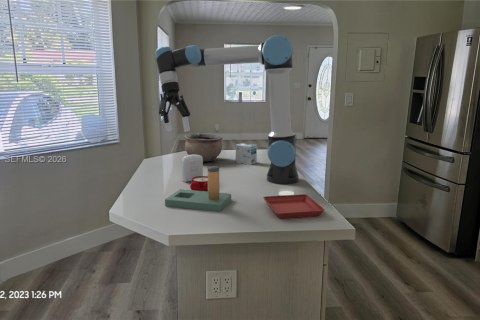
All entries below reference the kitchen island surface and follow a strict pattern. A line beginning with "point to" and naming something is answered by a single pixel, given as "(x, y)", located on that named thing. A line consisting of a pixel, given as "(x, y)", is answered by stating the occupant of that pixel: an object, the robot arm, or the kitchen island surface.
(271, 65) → the robot arm
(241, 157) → the light bulb box
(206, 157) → the ceramic bowl
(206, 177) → the alarm clock
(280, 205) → the plant saucer
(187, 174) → the photo printer
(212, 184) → the plug
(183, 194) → the socket board
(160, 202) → the kitchen island surface
